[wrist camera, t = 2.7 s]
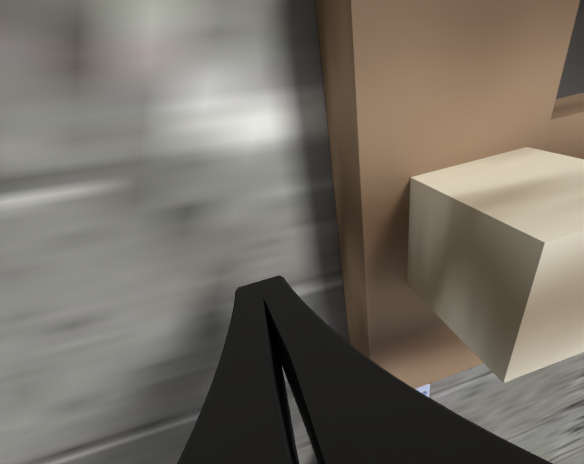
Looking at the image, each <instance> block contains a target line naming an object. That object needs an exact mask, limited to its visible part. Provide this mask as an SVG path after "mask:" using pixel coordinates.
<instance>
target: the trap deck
mask: <svg viewBox="0 0 584 464" xmlns="http://www.w3.org/2000/svg"><path fill="white" fill-rule="evenodd" d="M315 1H316V11H317V22H318V32H319V42H320V52H321V62H322V72H323V82H324V92H325V102H326V113H327V123H328V133H329V143H330V153H331V163H332V173H333V183H334V193H335V203H336V214H337V224H338V234H339V244H340V254H341V264H342V274H343V284H344V294H345V305H346V315H347V325H348V335H349V343H350V344H351V345H352V346H353V347H355V348H356V349H357V350H359V351H360V352H361V353H362V354H364V355H365V356H367V357H368V358H369V359H371V360H372V361H373V362H375V363H376V364H378V365H379V366H380V367H382V368H383V369H385V370H386V371H388V372H389V373H391V374H392V375H394V376H395V377H397V378H398V379H400V380H401V381H403V382H404V383H406V384H407V385H409V386H411V387H412V388H414V389H416V388H419V387H421V386H424V385H427V384H429V383H432V382H435V381H438V380H440V379H443V378H446V377H448V376H451V375H454V374H456V373H459V372H462V371H464V370H467V369H470V368H472V367H475V366H478V365H480V364H483V362H482V360H481V359H480V358H479V357H478V356H477V355H476V354H475V353H474V352H473V351H472V350H471V349H470V348H469V347H468V346H467V345H466V344H465V343H464V342H463V341H462V340H461V339H460V338H459V337H458V336H457V335H456V334H455V333H454V332H453V331H452V330H451V329H450V328H449V327H448V326H447V325H446V324H445V323H444V322H443V321H442V320H441V319H440V318H439V317H438V316H437V315H436V313H435V312H434V311H433V310H432V309H431V308H430V307H429V306H428V305H427V304H426V303H425V302H424V301H423V300H422V299H421V298H420V297H419V296H418V295H417V294H416V293H415V292H414V291H413V290H412V289H411V288H410V287H409V286H408V285H407V268H408V238H409V208H410V178H411V177H414V176H417V175H421V174H425V173H429V172H433V171H437V170H440V169H444V168H448V167H452V166H456V165H460V164H464V163H467V162H471V161H475V160H479V159H483V158H487V157H490V156H494V155H498V154H502V153H506V152H510V151H513V150H517V149H521V148H525V147H529V148H534V149H539V150H543V151H548V152H552V153H557V154H562V155H566V156H571V157H575V158H580V159H584V0H315Z"/></svg>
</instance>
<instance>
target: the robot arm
mask: <svg viewBox="0 0 584 464" xmlns="http://www.w3.org/2000/svg"><path fill="white" fill-rule="evenodd" d="M282 366H283V369H284V372H285V374H286V377H287V380H288V382H289V385H290V388H291V390H292V393H293V396H294V398H295V401H296V404H297V406H298V409H299V412H300V414H301V417H302V420H303V422H304V425H305V427H306V430H307V433H308V435H309V438H310V441H311V444H312V447H313V450H314V453H315V456H316V459H317V462H318V464H552V463H550V462H548V461H546V460H544V459H542V458H540V457H538V456H536V455H534V454H532V453H530V452H528V451H526V450H524V449H522V448H520V447H518V446H516V445H514V444H512V443H510V442H508V441H506V440H504V439H502V438H500V437H498V436H497V435H495V434H493V433H491V432H489V431H487V430H485V429H484V428H482V427H480V426H478V425H476V424H474V423H472V422H471V421H469V420H467V419H465V418H463V417H461V416H460V415H458V414H456V413H454V412H453V411H451V410H449V409H448V408H446V407H444V406H443V405H441V404H439V403H438V402H436V401H434V400H433V399H431V398H429V392H430V384H427V385H424V386H421V387H419V388H416V389H414V388H412V387H411V386H409V385H407V384H406V383H404V382H403V381H401V380H400V379H398V378H397V377H395V376H394V375H392V374H391V373H389V372H388V371H386V370H385V369H383V368H382V367H380V366H379V365H378V364H376V363H375V362H373V361H372V360H371V359H369V358H368V357H367V356H365V355H364V354H362V353H361V352H360V351H359V350H357V349H356V348H355V347H353V346H352V345H351V344H350V343H348V342H347V341H346V340H345V339H343V338H342V337H341V336H340V335H339V334H337V333H336V332H335V331H334V330H333V329H332V328H330V327H329V326H328V325H327V324H326V323H325V322H324V321H323V320H322V319H321V318H320V317H319V316H317V315H316V314H315V313H314V312H313V311H312V310H311V309H310V308H309V307H308V306H307V305H306V304H305V303H304V302H303V301H302V300H301V298H300V297H299V296H298V295H297V294H296V293H295V292H294V291H293V289H292V288H291V287H290V286H289V284H288V283H287V282H286V280H285V279H284V278H283V277H281V276H280V275H279V276H276V277H273V278H269V279H266V280H262V281H259V282H255V283H252V284H249V285H245V286H242V287H238V289H237V290H236V292H235V301H234V307H233V313H232V317H231V322H230V326H229V330H228V334H227V337H226V341H225V345H224V348H223V352H222V355H221V358H220V361H219V364H218V367H217V370H216V373H215V376H214V378H213V381H212V384H211V387H210V390H209V392H208V395H207V397H206V400H205V403H204V405H203V407H202V410H201V412H200V415H199V417H198V419H197V422H196V424H195V426H194V429H193V431H192V433H191V436H190V438H189V440H188V442H187V444H186V446H185V448H184V450H183V453H182V455H181V457H180V459H179V461H178V463H177V464H299V459H298V455H297V450H296V445H295V439H294V433H293V427H292V422H291V416H290V410H289V404H288V398H287V393H286V387H285V381H284V375H283V370H282Z"/></svg>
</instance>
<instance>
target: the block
mask: <svg viewBox="0 0 584 464" xmlns="http://www.w3.org/2000/svg"><path fill="white" fill-rule="evenodd" d="M407 285H408V286H409V287H410V288H411V289H412V290H413V291H414V292H415V293H416V294H417V295H418V296H419V297H420V298H421V299H422V300H423V301H424V302H425V303H426V304H427V305H428V306H429V307H430V308H431V309H432V310H433V311H434V312H435V313H436V315H437V316H438V317H439V318H440V319H441V320H442V321H443V322H444V323H445V324H446V325H447V326H448V327H449V328H450V329H451V330H452V331H453V332H454V333H455V334H456V335H457V336H458V337H459V338H460V339H461V340H462V341H463V342H464V343H465V344H466V345H467V346H468V347H469V348H470V349H471V350H472V351H473V352H474V353H475V354H476V355H477V356H478V357H479V358H480V359H481V360H482V362H483V363H484V364H485V365H486V366H487V367H488V368H489V369H490V370H491V371H492V372H493V373H494V374H495V375H496V376H497V377H498V378H499V379H500V380H501V381H502V382H503V383H505V382H507V381H510V380H512V379H515V378H517V377H520V376H523V375H525V374H528V373H530V372H533V371H535V370H538V369H541V368H543V367H546V366H548V365H551V364H553V363H556V362H558V361H561V360H564V359H566V358H569V357H571V356H574V355H576V354H579V353H582V352H584V159H580V158H575V157H571V156H566V155H562V154H557V153H552V152H548V151H543V150H539V149H534V148H529V147H525V148H521V149H517V150H513V151H510V152H506V153H502V154H498V155H494V156H490V157H487V158H483V159H479V160H475V161H471V162H467V163H464V164H460V165H456V166H452V167H448V168H444V169H440V170H437V171H433V172H429V173H425V174H421V175H417V176H414V177H411V178H410V208H409V238H408V268H407Z"/></svg>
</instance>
